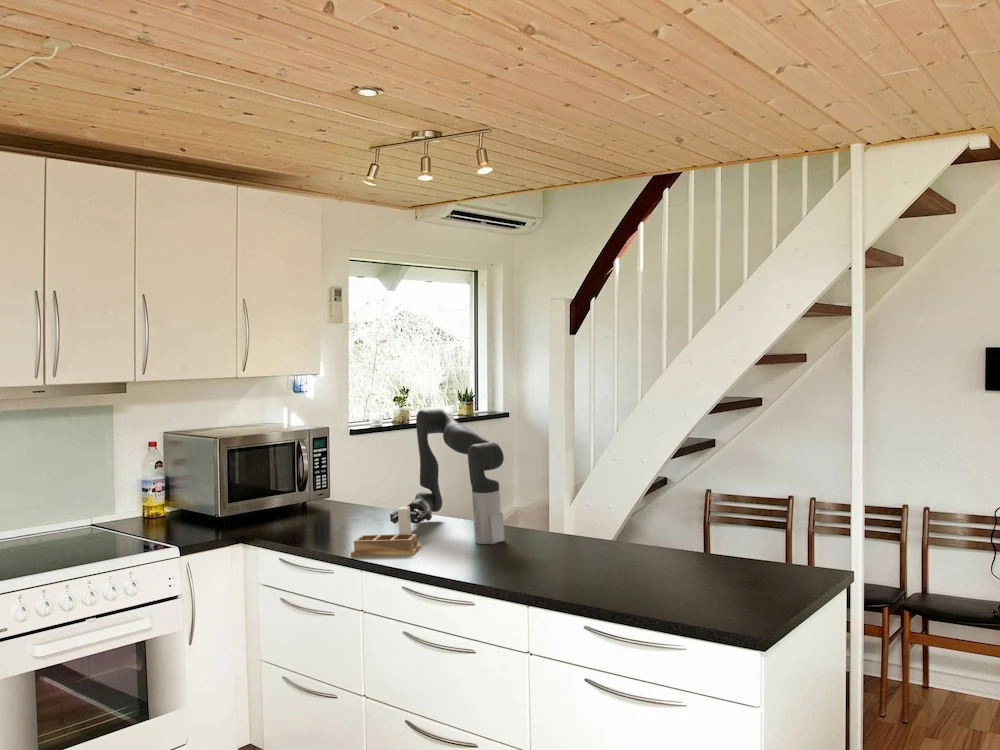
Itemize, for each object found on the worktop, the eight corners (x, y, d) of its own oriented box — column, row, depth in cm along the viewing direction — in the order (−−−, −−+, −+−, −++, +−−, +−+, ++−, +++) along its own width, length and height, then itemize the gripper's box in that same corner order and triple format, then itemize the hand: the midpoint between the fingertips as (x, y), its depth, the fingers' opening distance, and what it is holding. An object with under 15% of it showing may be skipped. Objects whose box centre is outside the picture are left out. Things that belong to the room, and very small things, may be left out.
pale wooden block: (403, 541, 297) (401, 506, 297) (411, 540, 297) (409, 506, 296) (399, 544, 293) (397, 509, 292) (408, 544, 293) (406, 509, 292)
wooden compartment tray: (360, 548, 290) (359, 534, 290) (421, 547, 287) (420, 533, 287) (350, 556, 280) (350, 541, 280) (413, 554, 277) (412, 540, 277)
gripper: (398, 501, 314) (385, 510, 298) (436, 500, 311) (425, 509, 295) (399, 521, 314) (386, 531, 298) (437, 520, 312) (426, 530, 296)
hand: (406, 520), depth 297 cm, fingers open, 8 cm apart
